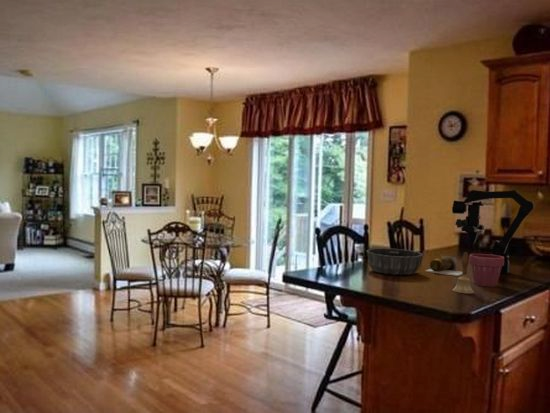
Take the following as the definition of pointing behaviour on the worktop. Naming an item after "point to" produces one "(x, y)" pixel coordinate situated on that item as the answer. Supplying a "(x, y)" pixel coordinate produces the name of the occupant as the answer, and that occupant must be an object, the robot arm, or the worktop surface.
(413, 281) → the worktop surface
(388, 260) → the bundt pan
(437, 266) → the condiment
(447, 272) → the mat
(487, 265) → the plant pot
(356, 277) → the worktop surface
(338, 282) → the worktop surface
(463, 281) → the hand bell
